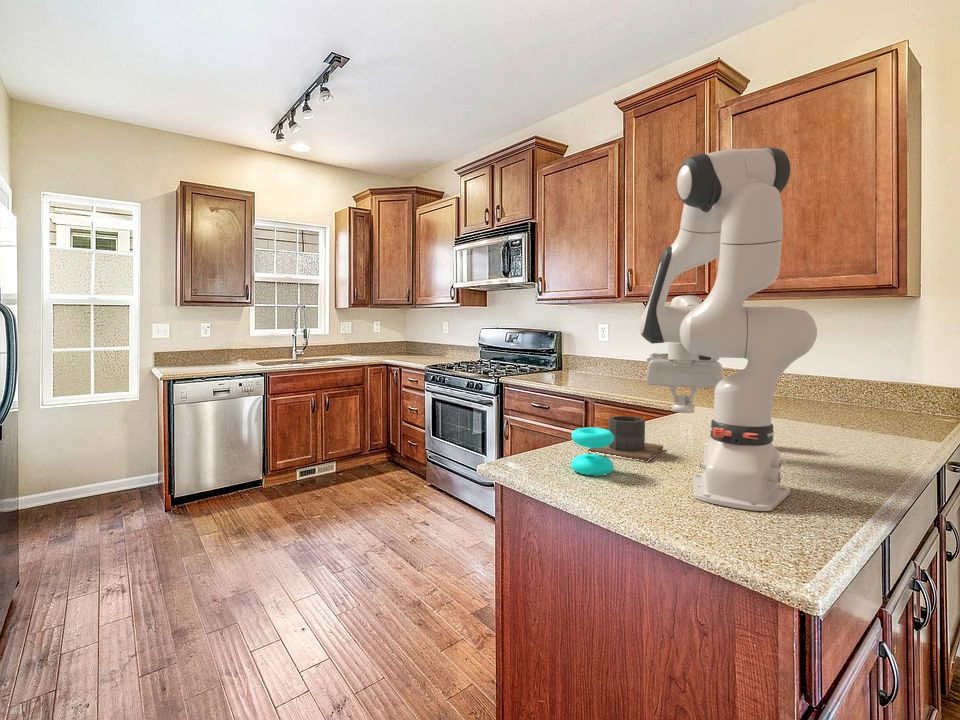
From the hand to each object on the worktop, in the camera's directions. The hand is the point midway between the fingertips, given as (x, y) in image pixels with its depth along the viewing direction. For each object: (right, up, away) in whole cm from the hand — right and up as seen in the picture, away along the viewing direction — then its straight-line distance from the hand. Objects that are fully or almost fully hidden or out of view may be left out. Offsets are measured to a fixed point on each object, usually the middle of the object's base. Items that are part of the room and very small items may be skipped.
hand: (683, 402), depth 140 cm
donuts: (-30, -15, -20) cm, 39 cm away
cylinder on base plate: (-17, -13, -2) cm, 21 cm away
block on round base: (0, -3, 0) cm, 3 cm away
